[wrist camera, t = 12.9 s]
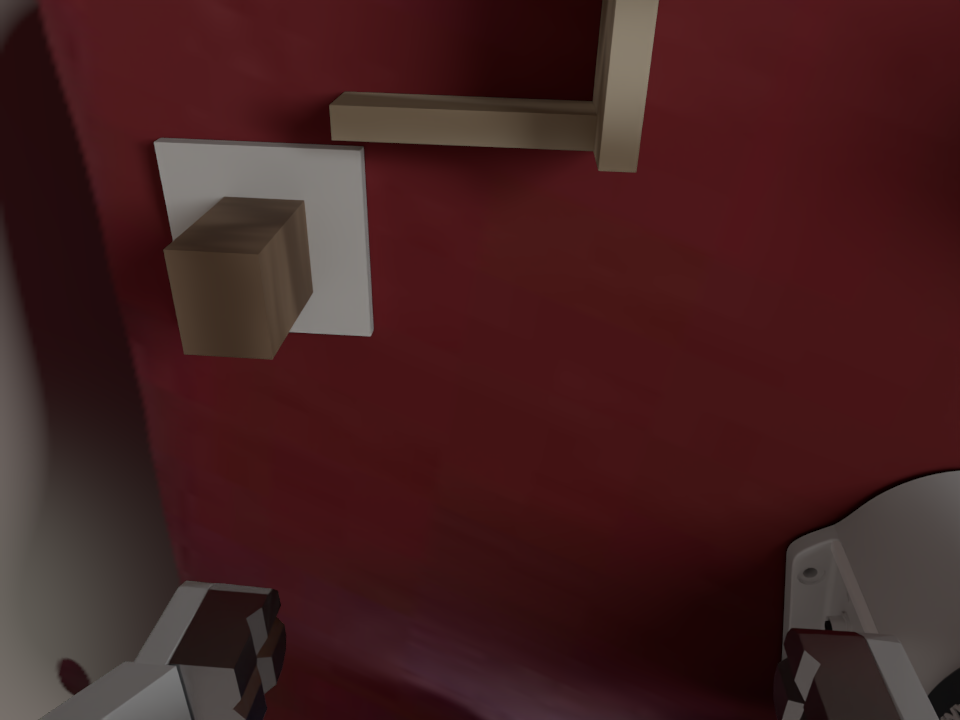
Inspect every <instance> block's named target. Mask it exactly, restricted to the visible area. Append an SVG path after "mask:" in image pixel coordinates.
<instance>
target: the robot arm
mask: <svg viewBox="0 0 960 720" xmlns="http://www.w3.org/2000/svg"><path fill="white" fill-rule="evenodd" d="M808 568H809V569H808ZM280 606H281V603H280V598H279V594H278V591H277V590H274V589H268V588H258V587H249V586H239V585H229V584H220V583H206V582H195V581H186V582H184V583H183V584H182V585H181V586H180V587H178V589H177V590H176V592H175V594H174V595H173V597H172V599H171V600H170V602H169V604H168V605H167V607H166V609H165V610H164V612H163V614H162V616H161V617H160V619H159V620H158V622H157V624H156V625H155V627H154V629H153V630H152V632H151V634H150V635H149V637H148V639H147V640H146V642H145V644H144V645H143V647H142V649H141V650H140V652H139V654H138V655H137V657H136V659H135V660H134V662H123V663H122V664H120V665H119V666H117V667H116V668H114V669H113V670H111V671H110V672H108V673H107V674H105V675H104V676H102V677H101V678H99V679H98V680H97V681H95V682H94V683H92V684H91V685H89V686H88V687H86V688H85V689H83V690H82V691H80V692H79V693H77V694H76V695H74V696H73V697H71V698H70V699H68V700H67V701H65V702H64V703H62V704H61V705H59V706H58V707H56V708H55V709H53V710H52V711H51V712H49V713H48V714H46V715H45V716H43V717H42V718H40V719H39V720H263V718H264V715H265V712H266V710H267V706H266V701H265V696H264V694H265V693H266V692H267V691H268V690H269V689H271V688H272V687H273V686H274V685H276V684H277V681H278V678H279V676H280V673H281V670H282V667H283V662H284V656H285V651H286V631H285V625H284V624H283V623H282V622H281V621H280V620H279V619H278V618H277V617H276V616H277V614H278V611H279V609H280ZM773 698H774V705H775V711H776V715H777V719H778V720H960V471H952V472H945V473H939V474H934V475H930V476H926V477H922V478H918V479H915V480H912V481H909V482H906V483H904V484H901V485H899V486H896V487H894V488H892V489H890V490H887V491H886V492H884V493H882V494H880V495H878V496H876V497H875V498H873V499H871V500H870V501H868V502H867V503H865V504H864V505H862V506H861V507H860V508H858V509H857V510H856V511H854V512H853V513H852V514H850V515H849V516H847V517H846V518H845V519H843V520H841V521H840V522H838V523H836V524H835V525H832V526H829V527H826V528H823V529H820V530H817V531H815V532H812V533H809V534H807V535H804V536H802V537H800V538H798V539H797V540H795V541H794V542H792V543H791V544H790V546H789V547H788V549H787V554H786V576H785V599H784V622H783V644H782V661H781V662H780V663H778V664H777V668H776V672H775V676H774V689H773Z"/></svg>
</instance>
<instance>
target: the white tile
mask: <svg viewBox="0 0 960 720" xmlns="http://www.w3.org/2000/svg"><path fill="white" fill-rule="evenodd" d="M154 146H155V151H156V156H157V162H158V167H159V172H160V177H161V182H162V187H163V192H164V198H165V203H166V208H167V213H168V218H169V223H170V228H171V233H172V239H173V241H174V240H175V239H176V238H177V237H178V236H180V235H181V234H182V233H183V232H184V231H185V230H187V229H188V228H189V227H190V226H191V225H192V224H193V223H195V222H196V221H197V220H198V219H199V218H200V217H202V216H203V215H204V214H205V213H206V212H207V211H208V210H210V209H211V208H212V207H213V206H214V205H215V204H217V203H218V202H219V201H220V200H221V199H222V198H223V197H245V198H265V199H286V200H304V202H305V212H306V223H307V233H308V244H309V254H310V265H311V275H312V285H313V294H312V295H311V297H310V299H309V300H308V302H307V304H306V305H305V307H304V308H303V310H302V312H301V313H300V315H299V317H298V318H297V320H296V321H295V323H294V325H293V326H292V328H291V330H290V331H289V332H299V333H317V334H336V335H355V336H371V335H372V332H373V330H374V328H373V310H372V291H371V273H370V255H369V236H368V218H367V199H366V181H365V162H364V146H343V145H320V144H296V143H272V142H248V141H225V140H201V139H177V138H160V139H158V140H156V141H154Z"/></svg>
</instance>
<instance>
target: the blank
mask: <svg viewBox="0 0 960 720" xmlns="http://www.w3.org/2000/svg"><path fill="white" fill-rule="evenodd" d="M163 251H164V256H165V261H166V266H167V271H168V276H169V281H170V286H171V291H172V296H173V301H174V306H175V311H176V316H177V321H178V326H179V331H180V335H181V340H182V345H183V350H184V354H187V355H205V356H222V357H239V358H257V359H273V357H274V356H275V354H276V353H277V351H278V349H279V348H280V346H281V344H282V343H283V341H284V339H285V338H286V336H287V335H288V333H289V331H290V330H291V328H292V326H293V325H294V323H295V321H296V320H297V318H298V317H299V315H300V313H301V312H302V310H303V308H304V307H305V305H306V304H307V302H308V300H309V299H310V297H311V295H312V294H313V285H312V275H311V265H310V254H309V244H308V233H307V223H306V212H305V202H304V200H286V199H265V198H245V197H223V198H222V199H221V200H220V201H219V202H218V203H217V204H215V205H214V206H213V207H212V208H211V209H210V210H208V211H207V212H206V213H205V214H204V215H203V216H202V217H200V218H199V219H198V220H197V221H196V222H195V223H193V224H192V225H191V226H190V227H189V228H188V229H187V230H185V231H184V232H183V233H182V234H181V235H180V236H178V237H177V238H176V239H175V240H174V241H173V242H171V243H170V244H169V245H168V246H167V247H166V248H165V249H163Z"/></svg>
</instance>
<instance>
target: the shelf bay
mask: <svg viewBox="0 0 960 720" xmlns="http://www.w3.org/2000/svg"><path fill="white" fill-rule="evenodd" d="M658 2H659V0H602V10H601V20H600V30H599V41H598V51H597V61H596V72H595V82H594V92H593V101H574V100H548V99H522V98H496V97H471V96H445V95H419V94H393V93H367V92H344V93H343V94H341V95H340V96H339V97H338V98H337V99H336V100H334V101H333V102H332V103H331V104H330V105H329V109H330V122H331V136H332V140H339V141H363V142H387V143H411V144H435V145H459V146H483V147H507V148H530V149H554V150H578V151H594V155H595V159H596V163H597V167H598V171H616V172H636V169H637V162H638V154H639V147H640V139H641V131H642V124H643V116H644V109H645V101H646V93H647V86H648V78H649V71H650V63H651V55H652V48H653V40H654V32H655V25H656V17H657V10H658Z"/></svg>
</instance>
